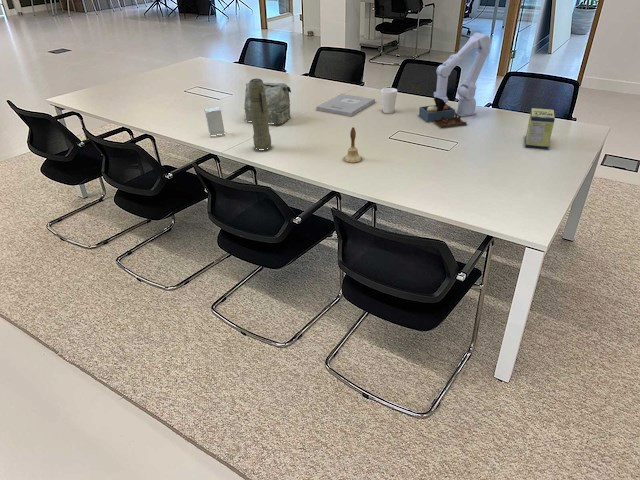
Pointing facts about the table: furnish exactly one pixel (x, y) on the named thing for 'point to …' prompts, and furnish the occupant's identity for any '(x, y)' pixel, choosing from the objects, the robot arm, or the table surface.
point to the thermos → (259, 115)
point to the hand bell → (352, 149)
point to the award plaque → (345, 104)
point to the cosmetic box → (214, 121)
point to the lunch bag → (272, 102)
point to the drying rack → (450, 122)
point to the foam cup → (388, 99)
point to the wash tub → (436, 113)
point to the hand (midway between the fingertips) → (439, 111)
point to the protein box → (540, 128)
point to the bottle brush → (434, 108)
